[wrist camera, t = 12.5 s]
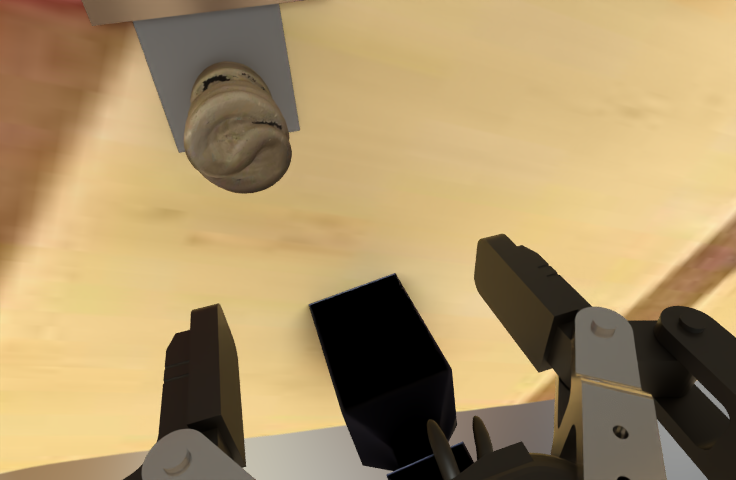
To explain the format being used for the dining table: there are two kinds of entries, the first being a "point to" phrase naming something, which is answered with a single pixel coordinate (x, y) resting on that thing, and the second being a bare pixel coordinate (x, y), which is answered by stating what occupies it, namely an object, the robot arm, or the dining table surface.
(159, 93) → the mat
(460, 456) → the vase
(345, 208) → the dining table surface
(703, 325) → the robot arm
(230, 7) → the socket block
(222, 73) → the tan ridged rounded piece
